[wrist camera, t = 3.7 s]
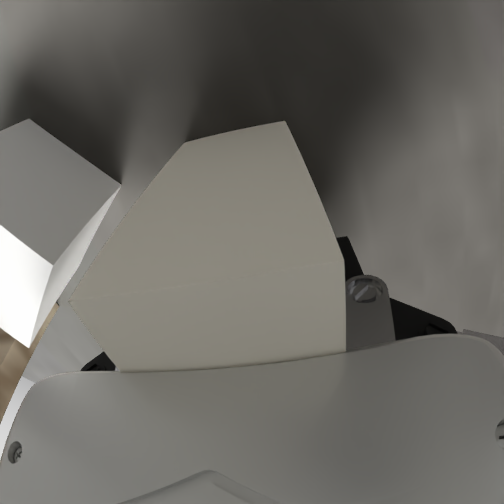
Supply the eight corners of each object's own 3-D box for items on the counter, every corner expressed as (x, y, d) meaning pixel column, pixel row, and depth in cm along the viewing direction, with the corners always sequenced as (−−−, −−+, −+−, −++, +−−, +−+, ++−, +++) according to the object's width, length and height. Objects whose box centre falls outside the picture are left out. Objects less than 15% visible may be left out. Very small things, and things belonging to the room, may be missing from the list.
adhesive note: (30, 117, 11) (-64, 165, 6) (122, 183, 13) (53, 264, 8) (2, 209, 13) (-63, 273, 8) (79, 266, 15) (28, 349, 10)
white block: (184, 142, 12) (68, 301, 4) (285, 120, 11) (343, 260, 4) (237, 308, 16) (226, 475, 9) (312, 297, 16) (338, 466, 9)
